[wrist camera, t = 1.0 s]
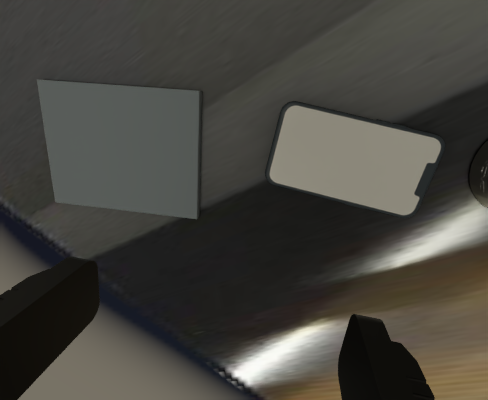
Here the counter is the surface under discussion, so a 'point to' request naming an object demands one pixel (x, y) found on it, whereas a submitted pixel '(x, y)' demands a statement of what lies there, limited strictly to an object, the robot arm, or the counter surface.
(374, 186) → the smartphone
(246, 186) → the counter surface
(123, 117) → the mat
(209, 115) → the counter surface
